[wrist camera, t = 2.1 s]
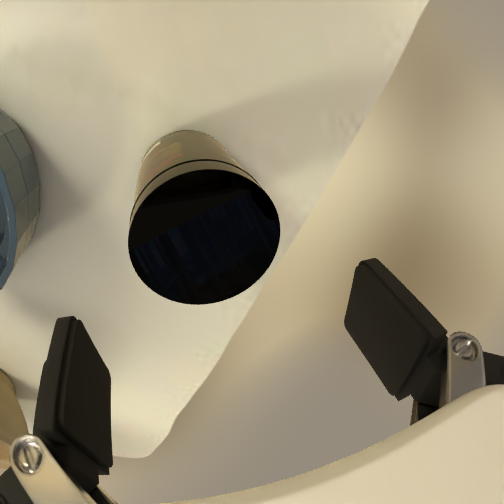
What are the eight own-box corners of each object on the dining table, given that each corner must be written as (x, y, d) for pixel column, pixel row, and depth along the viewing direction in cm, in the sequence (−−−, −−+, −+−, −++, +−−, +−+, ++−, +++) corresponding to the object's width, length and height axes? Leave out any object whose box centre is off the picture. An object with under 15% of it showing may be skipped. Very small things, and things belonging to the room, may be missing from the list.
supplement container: (201, 227, 24) (231, 319, 16) (124, 193, 21) (105, 278, 12) (247, 154, 22) (308, 212, 14) (167, 111, 19) (173, 138, 10)
